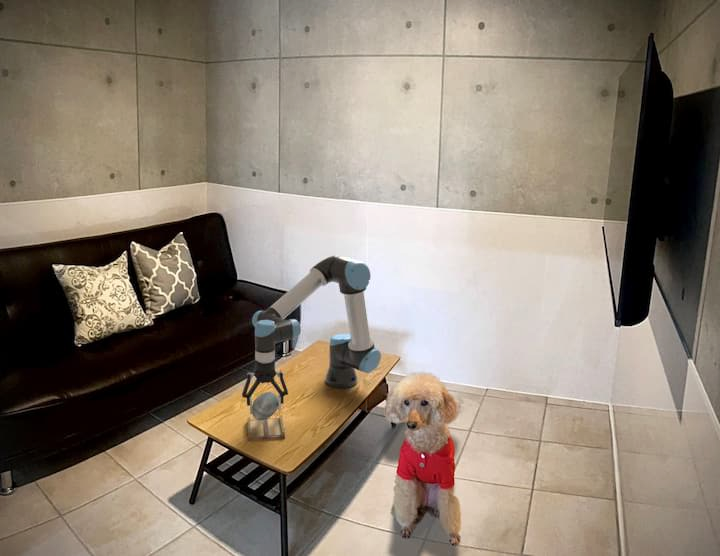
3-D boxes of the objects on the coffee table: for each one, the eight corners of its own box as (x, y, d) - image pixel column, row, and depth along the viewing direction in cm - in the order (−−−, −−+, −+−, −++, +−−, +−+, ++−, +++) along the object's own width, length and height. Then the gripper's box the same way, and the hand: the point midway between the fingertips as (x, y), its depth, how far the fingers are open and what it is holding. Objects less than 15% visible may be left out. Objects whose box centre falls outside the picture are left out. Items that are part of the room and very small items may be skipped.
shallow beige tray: (281, 419, 253) (281, 414, 252) (284, 438, 239) (284, 432, 238) (247, 422, 250) (247, 416, 249) (248, 441, 236) (248, 435, 235)
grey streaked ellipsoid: (259, 396, 250) (267, 381, 245) (279, 409, 250) (287, 394, 244) (242, 418, 239) (249, 402, 234) (263, 431, 238) (270, 416, 233)
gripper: (293, 354, 242) (293, 405, 248) (234, 357, 238) (235, 409, 243) (295, 362, 235) (295, 414, 241) (234, 365, 231) (235, 418, 236)
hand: (265, 411), depth 242 cm, fingers closed on grey streaked ellipsoid, 10 cm apart
